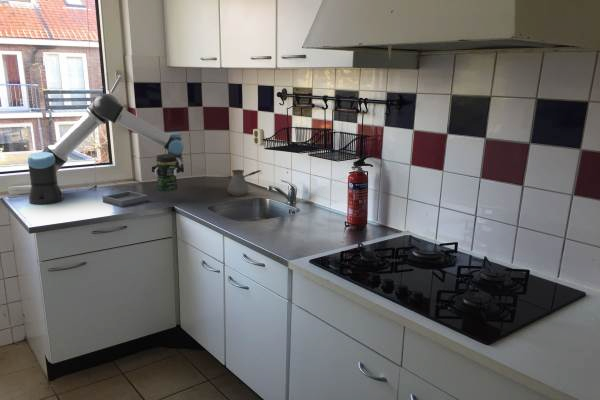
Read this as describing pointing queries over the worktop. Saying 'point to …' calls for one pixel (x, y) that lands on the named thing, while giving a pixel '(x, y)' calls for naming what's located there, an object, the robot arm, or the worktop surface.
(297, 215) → the worktop surface
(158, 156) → the coffee jar
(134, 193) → the grey shallow rectangular tray
